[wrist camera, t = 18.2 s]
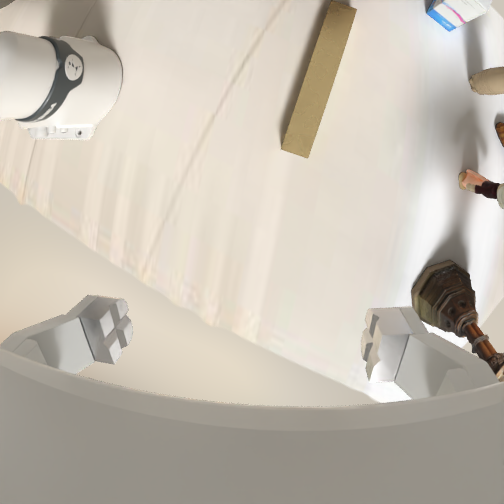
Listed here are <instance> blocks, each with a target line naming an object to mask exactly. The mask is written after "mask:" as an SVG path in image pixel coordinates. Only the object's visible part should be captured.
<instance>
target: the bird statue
mask: <svg viewBox="0 0 504 504" xmlns="http://www.w3.org/2000/svg"><path fill="white" fill-rule="evenodd" d="M411 296H412V307H413V309H414V310H415V312H416V313H417V315H418V316H419V318H420V320H421V321H423V322H425V323H427V324H429V325H431V326H433V327H434V326H435V327H438V328H439V329H441V330H443V331H445V332H446V331H447V332H453V333H455V334H456V336H458V337H466V336H467V339H468V340H469V343H471V344H472V353H477V354H478V356H479V358H480V359H482V360H484V361H486V362H487V363H488V365H489V366H490V368H491V369H492V371H493V372H494V374H495V375H496V377H497V378H498V380H499V382H503V381H504V353H497V352H496V351H495V349H494V348H493V346H492V345H491V344H490V342H489V341H488V339H489V337H488V336H487V335H484V334H483V333H482V331H481V330H480V328H479V327H478V326H477V324H478V313H477V312H476V309H475V302H476V300H475V291H474V290H473V289H472V287H471V280H470V274H469V273H467V272H466V271H465V270H464V269H462V268H461V267H460V266H458V265H457V264H455V263H454V262H453V261H451V260H448V261H445V262H442V263H439V264H436V265H433V266H430V267H427V268H426V269H425V271H424V273H423V274H422V276H421V277H420V279H419V280H418V282H417V283H416V285H415V286H414V287H413V289H412V290H411Z"/></svg>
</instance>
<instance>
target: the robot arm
mask: <svg viewBox="0 0 504 504" xmlns="http://www.w3.org/2000/svg"><path fill="white" fill-rule="evenodd" d="M121 83H122V67H121V63H120V60H119V58H118V56H117V55H116V54H115V53H114V52H113V51H112V50H111V49H109V48H107V47H105V46H102V45H100V44H99V43H98V41H97V40H96V39H95V38H94V37H93V36H89V35H88V36H85V37H83V38H82V39H80V38H75V37H70V36H61V37H60V38H55V37H46V36H41V37H34V36H30V35H26V34H21V33H16V32H11V31H3V32H0V121H2V120H10V119H15V120H17V123H18V125H19V127H20V128H21V129H26V128H28V131H29V134H30V136H31V138H32V139H65V140H89V139H90V138H91V137H92V136H93V134H94V132H95V130H96V127H97V125H98V123H99V122H100V121H101V120H102V119H103V118H104V117H105V115H106V114H107V113H108V112H109V111H110V109H111V108H112V107H113V105H114V103H115V101H116V99H117V97H118V95H119V92H120V88H121ZM80 132H82V133H81V134H80ZM127 312H128V306H127V302H126V301H125V300H124V299H122V298H113V297H106V296H99V295H87V296H86V297H85V298H84V299H83V300H81V302H79V303H78V304H77V305H76V306H75V307H74V308H73V309H71V310H70V311H69V312H68V313H67V314H66V315H60V316H57V317H55V318H52V319H49V320H46V321H44V322H41V323H39V324H36V325H33V326H30V327H28V328H25V329H22V330H19V331H17V332H14V333H13V334H11V335H10V336H9V337H8V338H7V339H6V340H5V341H3V342H2V343H1V344H0V504H504V381H503V382H499V380H498V378H497V377H496V375H495V374H494V372H493V371H492V369H491V368H490V366H489V365H488V363H487V362H486V361H484V360H482V359H480V358H478V357H477V356H475V355H473V354H471V353H469V352H467V351H465V350H464V349H462V348H460V347H458V346H456V345H455V344H453V343H451V342H449V341H447V340H445V339H444V338H442V337H440V336H438V335H436V334H434V333H429V332H428V331H427V329H426V328H425V326H424V324H423V323H422V321H421V320H420V318H419V316H418V315H417V313H416V312H415V310H414V309H413V307H411V306H407V307H392V308H372V309H368V310H367V313H366V318H365V321H366V324H367V328H366V329H365V330H364V331H363V334H362V339H361V352H362V357H363V359H364V360H365V361H366V362H367V364H366V372H367V375H368V379H369V382H389V381H395V382H394V383H396V384H397V385H398V386H399V387H400V388H401V389H402V390H403V391H404V392H405V393H406V394H407V395H408V396H409V397H411V398H412V399H413V400H406V401H398V402H389V403H378V404H367V405H366V404H365V405H349V406H321V407H320V406H317V407H298V406H264V405H248V404H234V403H224V402H214V401H205V400H197V399H190V398H182V397H176V396H170V395H164V394H158V393H152V392H147V391H142V390H137V389H132V388H128V387H123V386H119V385H114V384H110V383H106V382H102V381H98V380H94V379H91V378H87V377H83V376H80V375H76V373H78V372H80V371H81V370H83V369H84V368H86V367H87V366H89V365H91V364H92V363H94V362H95V361H98V362H103V363H109V364H115V363H116V361H117V360H118V358H119V357H120V355H121V354H122V348H123V347H125V346H127V345H128V344H129V343H130V341H131V339H132V335H133V326H132V323H131V320H130V319H129V318H128V316H127V315H126V314H127Z"/></svg>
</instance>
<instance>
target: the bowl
mask: <svg viewBox="0 0 504 504" xmlns="http://www.w3.org/2000/svg"><path fill="white" fill-rule="evenodd" d="M13 1H15V0H0V9H1V8H3V7H5V6H7V5H9V4H10V3H12V2H13Z"/></svg>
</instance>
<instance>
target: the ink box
mask: <svg viewBox="0 0 504 504" xmlns="http://www.w3.org/2000/svg"><path fill="white" fill-rule="evenodd" d="M491 3H492V0H433V2H432V4H431V6H430V7H429V9H428V11H427V14H428V15H429V16H430V17H431V18H433V19H434V20H435V21H437V22H438V23H439V24H440V25H442V26H443V27H444V28H445V29H446V30H448V31H451V30H453V29H455V28H457V27H459V26H461V25H463V24H465V23H467V22H469V21H471V20H473V19H475V18H477V17H479V16H481V15H483V14H485V13H487V12H488V10H489V8H490V5H491Z"/></svg>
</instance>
